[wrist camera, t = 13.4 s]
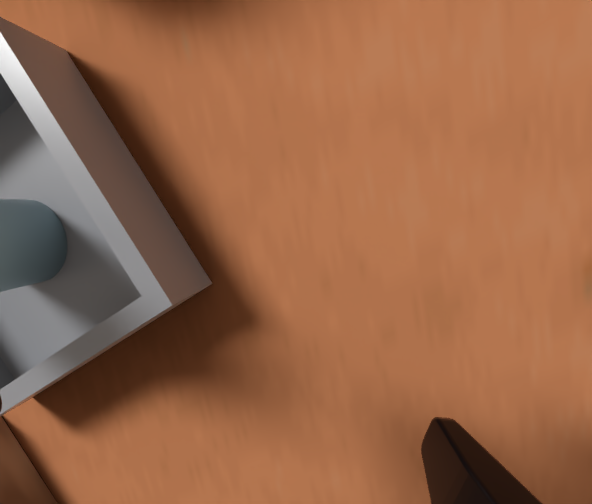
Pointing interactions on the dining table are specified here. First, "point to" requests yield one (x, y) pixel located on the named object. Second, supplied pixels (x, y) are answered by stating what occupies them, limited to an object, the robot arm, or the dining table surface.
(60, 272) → the bin
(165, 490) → the dining table surface
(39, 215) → the pale blue tapered cylinder
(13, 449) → the holder
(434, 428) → the robot arm
